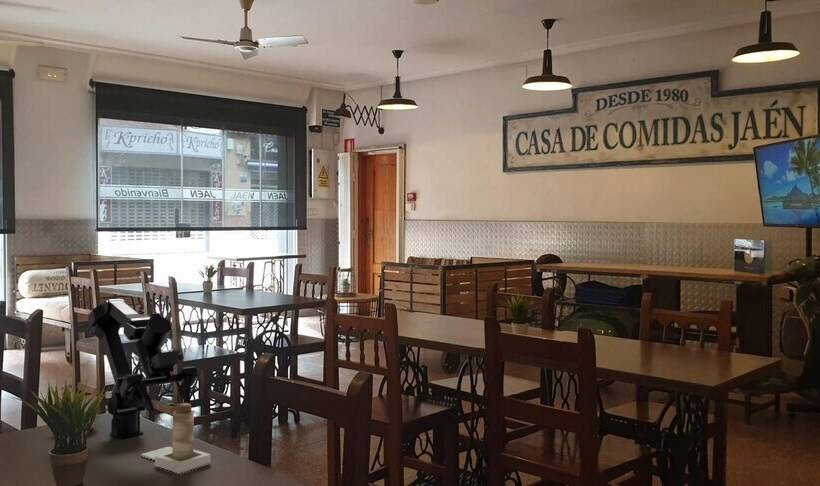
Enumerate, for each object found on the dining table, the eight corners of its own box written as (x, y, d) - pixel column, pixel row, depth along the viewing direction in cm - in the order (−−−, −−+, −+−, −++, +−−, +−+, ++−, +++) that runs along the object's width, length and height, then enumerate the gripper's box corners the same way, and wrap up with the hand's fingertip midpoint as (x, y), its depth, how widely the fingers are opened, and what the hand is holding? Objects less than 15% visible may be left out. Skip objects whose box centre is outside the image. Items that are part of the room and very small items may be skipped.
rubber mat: (168, 448, 187) (168, 446, 187) (188, 455, 182) (188, 452, 182) (141, 456, 180) (141, 454, 180) (160, 463, 176) (160, 460, 176)
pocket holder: (186, 456, 181) (186, 447, 180) (210, 464, 175) (210, 454, 175) (155, 466, 173) (155, 456, 173) (178, 474, 168) (178, 464, 168)
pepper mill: (184, 461, 178) (185, 401, 177) (197, 465, 175) (198, 404, 174) (168, 466, 174) (168, 405, 173) (180, 470, 171) (181, 408, 170)
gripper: (124, 342, 175) (144, 396, 168) (196, 335, 188) (217, 384, 181) (111, 370, 181) (129, 423, 173) (181, 360, 194) (201, 410, 186)
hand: (171, 409), depth 178 cm, fingers open, 9 cm apart
